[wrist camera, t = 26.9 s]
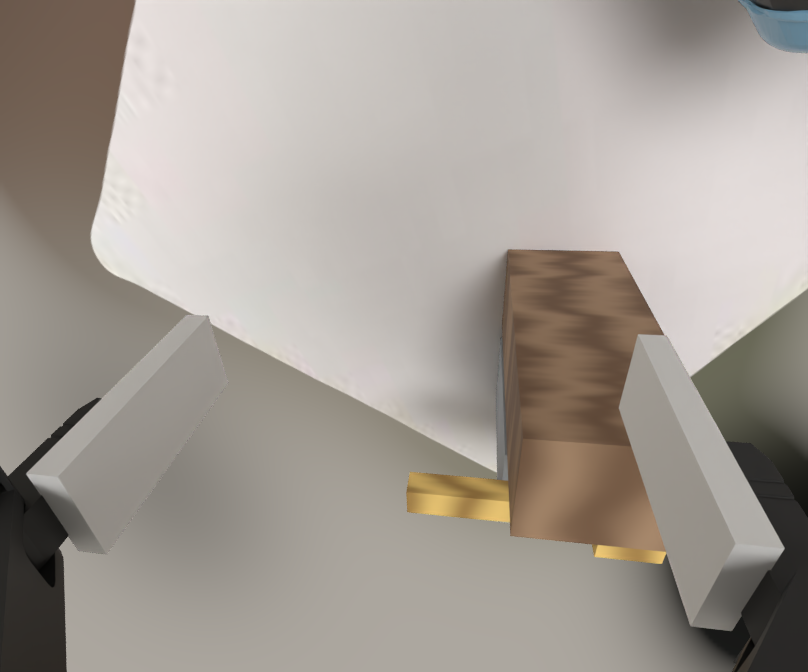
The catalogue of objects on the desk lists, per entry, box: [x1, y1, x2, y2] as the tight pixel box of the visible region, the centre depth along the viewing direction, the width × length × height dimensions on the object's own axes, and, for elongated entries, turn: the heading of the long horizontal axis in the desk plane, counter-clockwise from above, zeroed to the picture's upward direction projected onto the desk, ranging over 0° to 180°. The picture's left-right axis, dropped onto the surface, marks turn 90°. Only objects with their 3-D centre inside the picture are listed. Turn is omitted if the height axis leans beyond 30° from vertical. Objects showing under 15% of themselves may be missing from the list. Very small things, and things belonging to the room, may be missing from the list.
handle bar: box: [407, 472, 666, 564], centre depth 46 cm, size 24×8×4 cm, turn 92°
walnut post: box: [502, 250, 666, 552], centre depth 45 cm, size 12×10×30 cm
